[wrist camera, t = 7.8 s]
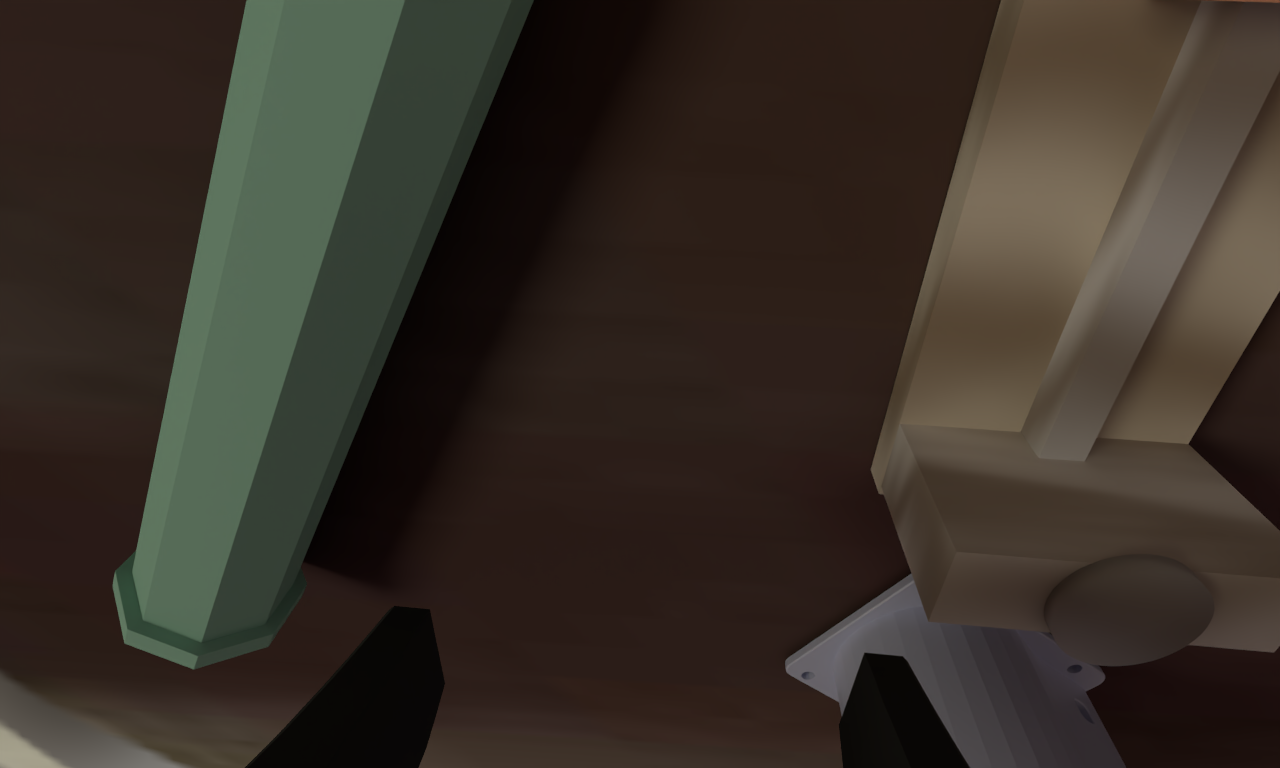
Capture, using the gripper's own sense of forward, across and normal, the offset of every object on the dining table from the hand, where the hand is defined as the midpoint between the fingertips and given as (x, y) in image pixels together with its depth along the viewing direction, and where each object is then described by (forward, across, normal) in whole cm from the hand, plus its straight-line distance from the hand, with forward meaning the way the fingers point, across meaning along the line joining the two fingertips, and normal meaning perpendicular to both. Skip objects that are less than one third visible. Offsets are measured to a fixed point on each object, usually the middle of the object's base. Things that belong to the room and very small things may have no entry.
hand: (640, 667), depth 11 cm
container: (+11, +10, -1) cm, 15 cm away
